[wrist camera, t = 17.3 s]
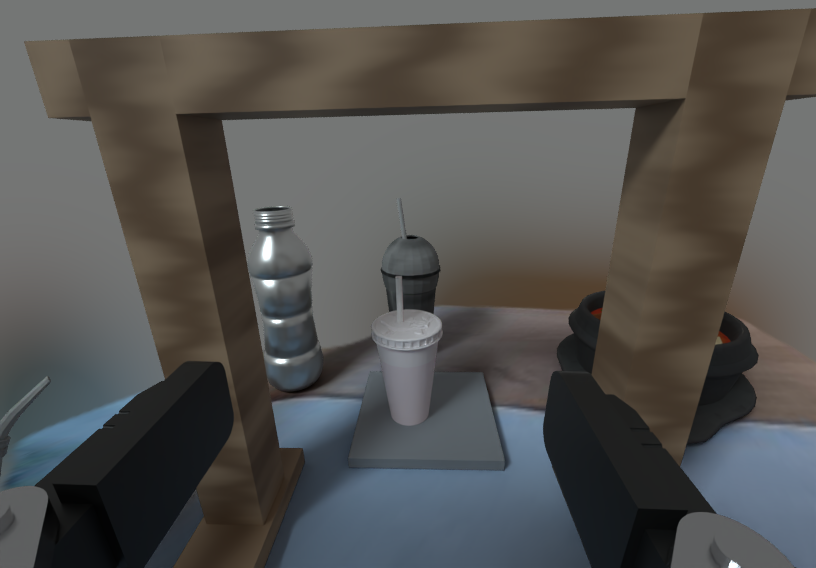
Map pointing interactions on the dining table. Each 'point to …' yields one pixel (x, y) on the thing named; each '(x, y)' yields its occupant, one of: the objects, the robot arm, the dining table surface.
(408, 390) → the smoothie
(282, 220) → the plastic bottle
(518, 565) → the dining table surface
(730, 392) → the casserole
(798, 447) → the dining table surface
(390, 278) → the beverage cup
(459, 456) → the mat
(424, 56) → the archway
